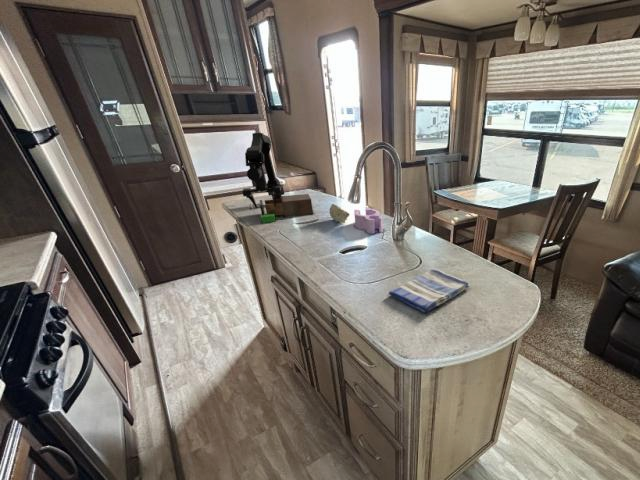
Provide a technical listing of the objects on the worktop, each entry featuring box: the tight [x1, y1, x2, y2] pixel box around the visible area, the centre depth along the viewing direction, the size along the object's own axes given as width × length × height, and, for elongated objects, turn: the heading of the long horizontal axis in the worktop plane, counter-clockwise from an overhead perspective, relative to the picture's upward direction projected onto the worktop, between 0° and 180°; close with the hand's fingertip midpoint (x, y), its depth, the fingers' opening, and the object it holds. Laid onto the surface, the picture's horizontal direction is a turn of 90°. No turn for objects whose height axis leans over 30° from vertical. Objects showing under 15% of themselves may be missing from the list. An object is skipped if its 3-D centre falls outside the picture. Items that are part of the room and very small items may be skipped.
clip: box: [354, 207, 384, 235], centre depth 164 cm, size 20×12×7 cm, turn 29°
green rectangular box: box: [260, 213, 276, 224], centre depth 174 cm, size 4×6×3 cm, turn 110°
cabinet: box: [281, 193, 314, 218], centre depth 185 cm, size 16×13×9 cm
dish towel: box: [388, 268, 470, 314], centre depth 109 cm, size 17×24×3 cm
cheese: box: [329, 203, 351, 224], centre depth 172 cm, size 15×7×15 cm
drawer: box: [249, 199, 284, 216], centre depth 181 cm, size 20×11×7 cm, turn 110°
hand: (266, 207), depth 171 cm, fingers open, 9 cm apart
